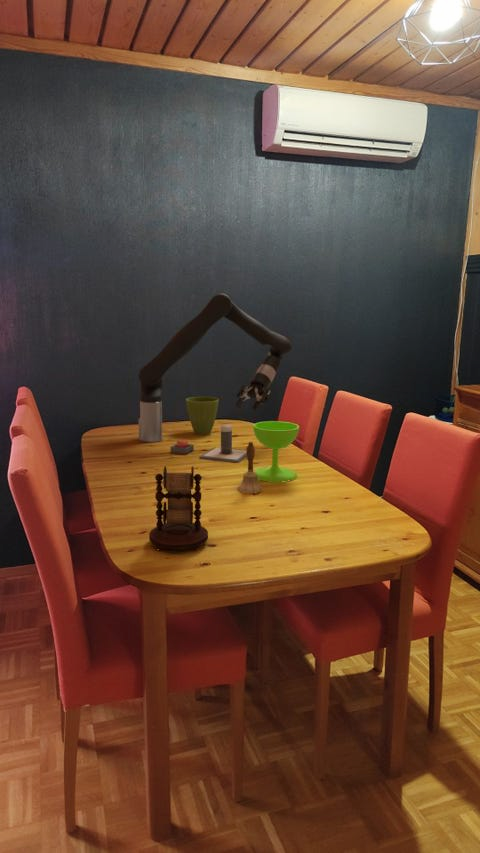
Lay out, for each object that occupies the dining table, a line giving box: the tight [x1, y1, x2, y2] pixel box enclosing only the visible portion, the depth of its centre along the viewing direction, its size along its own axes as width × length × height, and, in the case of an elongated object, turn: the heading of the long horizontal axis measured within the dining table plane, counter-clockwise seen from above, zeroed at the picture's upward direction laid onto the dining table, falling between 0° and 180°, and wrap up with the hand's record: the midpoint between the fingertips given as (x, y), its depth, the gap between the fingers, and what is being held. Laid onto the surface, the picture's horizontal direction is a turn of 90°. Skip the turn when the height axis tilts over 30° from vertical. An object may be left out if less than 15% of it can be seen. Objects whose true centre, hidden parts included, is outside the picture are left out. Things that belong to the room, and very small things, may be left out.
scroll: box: [148, 465, 209, 551], centre depth 145 cm, size 15×15×20 cm
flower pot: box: [185, 396, 219, 436], centre depth 266 cm, size 15×15×16 cm
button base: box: [170, 443, 195, 456], centre depth 234 cm, size 7×7×2 cm
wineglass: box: [252, 420, 300, 483], centre depth 203 cm, size 16×16×18 cm
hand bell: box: [236, 441, 263, 494], centre depth 187 cm, size 8×8×16 cm
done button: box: [176, 440, 189, 448], centre depth 234 cm, size 4×4×2 cm
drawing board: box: [199, 446, 247, 464], centre depth 230 cm, size 16×16×1 cm
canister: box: [220, 424, 233, 454], centre depth 229 cm, size 4×4×11 cm
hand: (245, 408), depth 235 cm, fingers open, 8 cm apart
